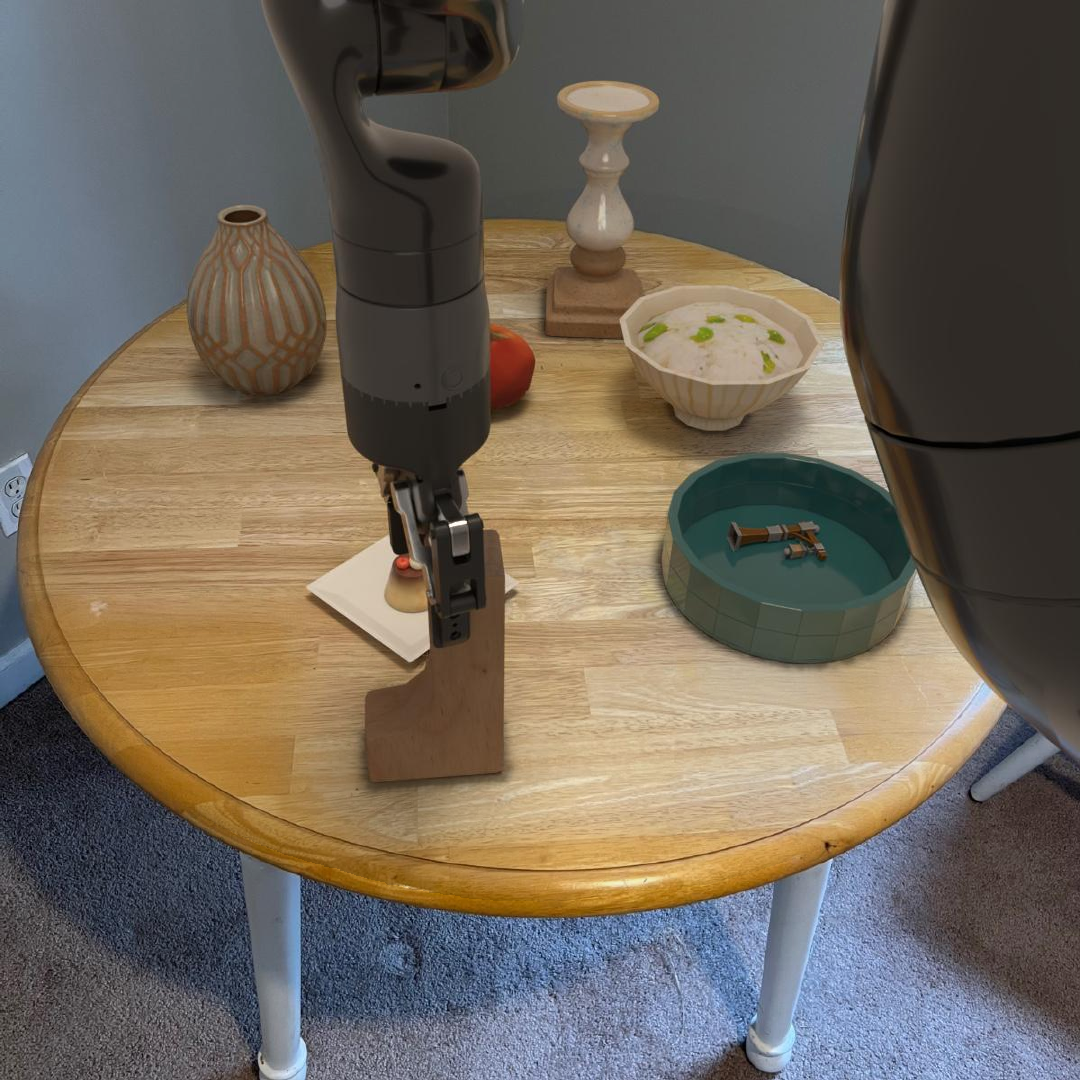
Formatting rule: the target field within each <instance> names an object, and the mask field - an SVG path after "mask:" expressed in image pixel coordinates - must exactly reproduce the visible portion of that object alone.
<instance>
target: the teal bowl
mask: <svg viewBox="0 0 1080 1080" xmlns="http://www.w3.org/2000/svg"><path fill="white" fill-rule="evenodd" d="M666 514H667V517H666V524H665V529H664V530H665V532H664V539H663V547H662V555H661V562H660V563H661V568H662V577H663V581H664V582H663V583H664V585H665V587H666V590H667V593H668V595H669V597H670V598H671V600H672V601H673V602H672V603H674V604H675V606H676V607H677V608H678V610H679V611H680V612H681V614H682V615H683V616H684V617H685V618H686V619H687V620H689V621H690V623H692V625H694V626H695V627H697V629H699V630H700V631H702V632H703V633H704V634H706V635H707V636H709V637H711V638H712V639H714V640H716V641H718V642H719V643H721V644H724V645H726V646H727V647H730V648H732V649H734V650H736V651H740V652H743V653H744V654H748V655H751V656H754V657H759V658H762V659H766V660H772V661H777V662H783V663H795V664H820V663H829V662H836V661H840V660H844V659H849V658H852V657H854V656H857V655H860V654H862V653H864V652H866V651H868V650H870V649H872V648H874V647H875V646H877V645H878V644H880V643H881V642H882V641H883V640H885V639H886V638H887V637H888V636H889V635H890V634H891V633H892V632H893V631H894V629H895V627H896V626H897V625H898V623H899V621H900V618H901V616H902V614H903V613H904V611H905V609H906V606H907V603H908V599H909V597H910V594H911V591H912V588H913V585H914V582H915V579H916V576H917V574H918V573H917V570H916V567H915V565H914V562H913V560H912V557H911V554H910V552H909V548H908V546H907V542H906V540H905V538H904V535H903V532H902V529H901V526H900V523H899V520H898V517H897V514H896V511H895V508H894V505H893V502H892V499H891V496H890V493H889V490H888V489H886V488H885V487H883V486H881V485H880V484H879V483H876V482H874V481H873V480H871V479H869V478H868V477H867V476H864V475H863V474H861V473H859V472H858V471H856V470H855V469H854V470H853V469H851V468H848V467H845V466H842V465H839V464H838V463H837V464H836V463H834V462H832V461H828V460H825V459H822V458H818V457H813V456H807V455H801V454H794V453H788V452H748V453H744V454H738V455H734V456H729V457H724V458H720V459H716V460H714V461H713V462H710V463H709V464H707V465H705V466H702V467H701V468H699V469H697V470H695V471H693V472H691V473H690V474H689V475H688V476H687V477H686V478H685V479H684V480H683V481H682V482H681V484H679V486H678V487H677V488H676V489H675V490H674V491H673V493H672V497H671V501H670V503H669V507H668V511H667V513H666ZM803 521H805V523H806V522H811V521H812V522H813V524H814V525H818V526H819V528H820V530H819V532H818V533H815V534H814V536H815V537H816V539H817V540H818V542H819V543H821V544H822V546H823V547H824V551H826V554H827V557H826V560H821V561H820V560H819V558H817V556H815V554H814V553H813V552H809V554H808V555H807V553H806V554H804V557H803V559H801V557H796V558H792V559H790V558H789V556H788V555H784V554H783V550H784V549H785V548H788V546H789V544H791V545H799V544H800V542H802V544H803V546H804V547H807V546H808V547H809V548H812V547H811V546H810V545H809V544H807V543H805V542H803V541H801V540H799V539H797V538H795V537H791V538H787V539H786V540H784V541H783V540H782V539H780V541H770V542H767V540H764V541H757V542H752V543H746V544H743V545H739V548H738V550H735V551H733V549H732V547H731V545H730V543H729V541H728V539H727V535H728V531H729V527H730V523H731V522H736V524H737V526H738V527H742V528H754V529H766V526H767V527H772V526H777V525H779V527H781V525H785V526H794V525H798V523H799V522H803Z"/></svg>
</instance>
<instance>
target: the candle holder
mask: <svg viewBox="0 0 1080 1080" xmlns="http://www.w3.org/2000/svg"><path fill="white" fill-rule="evenodd" d="M556 104H557V107H558V108H559V110H560V111H561V112H562V113H564V114H565V115H567V116H569V117H572V118H574V119H576V120H580V122H581V123H582V126H583V127H584V129H585V130H586V132H587V137H588V142H587V145H586V147H585V149H584V151H583V152H582V153H581V154H580V155H579V157H578V163H579V165H580V166H581V167H582V170H583V173H584V174H585V176H586V184H585V186H584V188H583V190H582V191H581V193H580V194H579V196H578V197H577V199H576V201H575V202H574V203H573V204H572V206H571V208H570V210H569V212H568V214H567V216H566V220H565V229H566V233H567V235H568V237H569V238H570V240H571V241H573V243H575V245H574V246H573V247H572V248H571V250H570V254H569V259H570V263H571V265H572V266H557V267H556V268H555V269H554V272H553V274H552V275H548V277H547V282H546V298H545V301H546V304H545V321H544V331H545V332H544V333H545V335H546V336H550V337H552V336H553V337H566V338H567V337H568V338H569V337H571V338H596V339H622V340H624V338H623V333H622V329H621V324H620V320H619V319H620V318H621V317H622V316H623V315H624V314H625V313H626V311H627V310H628V309H629V308H630V307H631V306H632V305H633V304H634V303H635V302H636V301H637V300H638V299H639V298H640V297H643V296H644V288H643V287H644V286H643V282H642V280H641V278H638V275H637V272H636V270H635V269H631V268H623V267H624V266H625V264H626V261H627V256H626V252H625V250H624V248H623V247H622V246H624V245H625V244H626V243H627V242H629V240H631V238H632V236H633V234H634V229H635V220H634V216H633V213H632V211H631V209H630V207H629V205H628V203H627V201H626V200H625V197H624V196H623V193H622V190H621V188H620V179H621V177H622V176H623V174H624V172H625V170H626V169H627V168H628V167H629V165H630V158H629V156H628V155H627V153H626V150H625V149H624V146H623V145H624V144H623V140H624V137H625V134H626V133H627V131H628V130H629V129H630V128H631V127H632V126H633V123H637V122H641V121H642V122H643V121H645V120H647V119H650V118H651V117H653V116H654V115H655V114H656V113H657V112H658V110H659V108H660V99H659V97H658V95H657V94H656V93H655V92H653V90H650V89H649V88H646V87H644V86H642V85H637V84H634V83H630V82H623V81H615V80H592V81H591V80H590V81H582V82H576V83H573V84H570V85H567V86H565V87H563V88H562V89H560V91H559V92H558V93H557V96H556Z"/></svg>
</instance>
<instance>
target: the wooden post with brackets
mask: <svg viewBox="0 0 1080 1080" xmlns="http://www.w3.org/2000/svg"><path fill="white" fill-rule="evenodd" d="M819 530H820V528H819V526H818V525H814V524H813V522H812V521H811V522H806V523H805V521H803V522H799V523H798V525H794V526H785V525H781V527H779V525H777V526H772V527H767V526H766V529H754V528H742V527H738V526H737V524H736V522H731V523H730V527H729V531H728V535H727V539H728V541H729V543H730V545H731V547H732V549H733V551H735V550H738V548H739V545H743V544H746V543H752V542H757V541H764V540H767V542H770V541H780V539H782V540H783V541H784V540H786V539H787V538H791V537H795V538H797V539H799V540H801V541H803V542H805V543H807V544H809V545H810V546H811V547H812V548H809V547H808V546H807V547H804V546H803V544H802V542H800V544H799V545H791V544H789V546H788V548H785V549H784V550H783V554H784V555H788V556H789V558H790V559H792V558H796V557H801V559H803V557H804V554H806V553H807V555H808V554H809V552H813V553H814V554H815V556H817V558H819V560H820V561H821V560H826V557H827V554H826V551H824V547H823V546H822V544H821V543H819V542H818V540H817V539H816V537H815V536H814V534H815V533H818V532H819Z"/></svg>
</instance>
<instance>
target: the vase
mask: <svg viewBox="0 0 1080 1080" xmlns="http://www.w3.org/2000/svg"><path fill="white" fill-rule="evenodd" d="M216 220H217V225H216V228H215V231H214V234H213V236H212V238H211V239H210V241H209V243H208V244H207V245H206V247H205V249H204V250H203V251H202V254H201V255H200V257H199V259H198V261H197V262H196V265H195V267H194V269H193V271H192V274H191V277H190V280H189V284H188V288H187V289H188V290H187V295H186V317H187V324H188V330H189V334H190V337H191V341H192V343H193V346H194V349H195V350H196V352H197V354H198V356H199V358H200V359H201V361H202V362H203V364H204V365H205V366H206V368H207V369H208V370H209V371H210V372H211V373H212V374H213V375H214V376H215V377H216V378H217V379H219V380H220V381H221V382H223V383H224V384H226V385H228V386H229V387H231V388H234V389H235V390H238V391H239V392H242V393H244V394H247V395H252V396H257V397H258V396H263V397H264V396H274V395H280V394H282V393H286V392H287V391H289V390H292V389H293V388H295V386H297V385H298V384H299V383H300V382H302V381H303V380H304V379H305V378H306V377H307V376H308V375H309V374H310V373H311V372H312V371H313V370H314V368H315V367H316V365H317V363H318V361H319V360H320V358H321V356H322V353H323V349H324V346H325V342H326V338H327V328H328V327H327V324H328V322H327V310H326V304H325V299H324V295H323V292H322V289H321V286H320V283H319V281H318V279H317V277H316V276H315V274H314V272H313V270H312V268H311V267H310V265H309V264H308V263H307V261H306V259H305V258H304V257H303V256H302V255H301V254H300V253H299V251H298V250H297V249H295V247H294V246H293V245H292V244H291V243H290V242H289V241H287V239H285V237H284V236H282V234H280V233H279V232H278V231H277V230H276V229H275V228H274V226H273V224H271V222H270V220H269V217H268V212H267V211H266V209H264V208H262V207H260V206H257V205H250V204H240V205H232V206H229V207H227V208H224V209H222V210H220V211H219V212H218V213H217V215H216Z"/></svg>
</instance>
